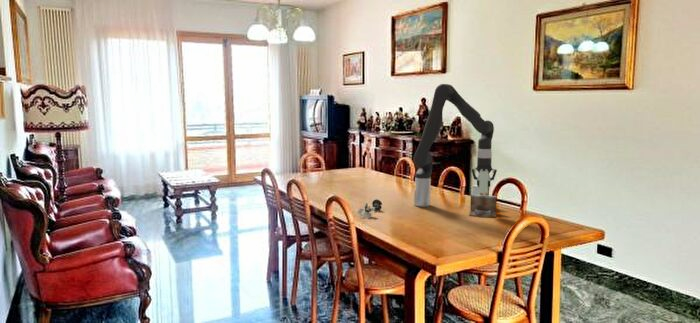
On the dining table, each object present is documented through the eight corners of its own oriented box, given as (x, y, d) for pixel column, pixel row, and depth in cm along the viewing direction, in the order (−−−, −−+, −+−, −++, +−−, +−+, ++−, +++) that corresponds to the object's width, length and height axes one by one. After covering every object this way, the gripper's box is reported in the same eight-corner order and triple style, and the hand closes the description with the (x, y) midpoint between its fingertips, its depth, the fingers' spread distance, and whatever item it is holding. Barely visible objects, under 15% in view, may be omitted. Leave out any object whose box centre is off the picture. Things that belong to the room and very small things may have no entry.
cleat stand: (469, 215, 264) (469, 198, 263) (470, 211, 274) (470, 194, 273) (495, 217, 260) (496, 200, 258) (495, 213, 270) (496, 196, 269)
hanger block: (479, 192, 263) (479, 171, 262) (479, 190, 269) (480, 169, 267) (487, 193, 262) (488, 171, 260) (487, 191, 267) (488, 170, 266)
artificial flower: (384, 212, 278) (388, 197, 275) (366, 225, 259) (370, 209, 256) (371, 207, 282) (375, 192, 278) (352, 219, 263) (356, 203, 260)
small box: (479, 208, 282) (480, 186, 280) (471, 206, 287) (472, 185, 285) (488, 206, 286) (489, 185, 284) (480, 204, 291) (481, 184, 290)
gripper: (470, 157, 261) (470, 187, 264) (497, 157, 257) (496, 189, 259) (471, 155, 268) (470, 185, 271) (497, 156, 264) (497, 186, 266)
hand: (483, 187), depth 265 cm, fingers closed on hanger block, 4 cm apart
